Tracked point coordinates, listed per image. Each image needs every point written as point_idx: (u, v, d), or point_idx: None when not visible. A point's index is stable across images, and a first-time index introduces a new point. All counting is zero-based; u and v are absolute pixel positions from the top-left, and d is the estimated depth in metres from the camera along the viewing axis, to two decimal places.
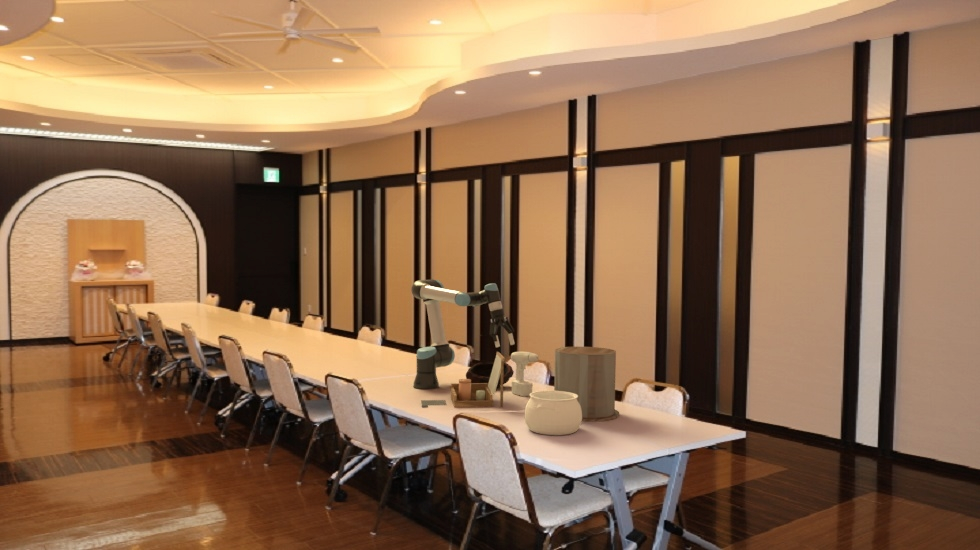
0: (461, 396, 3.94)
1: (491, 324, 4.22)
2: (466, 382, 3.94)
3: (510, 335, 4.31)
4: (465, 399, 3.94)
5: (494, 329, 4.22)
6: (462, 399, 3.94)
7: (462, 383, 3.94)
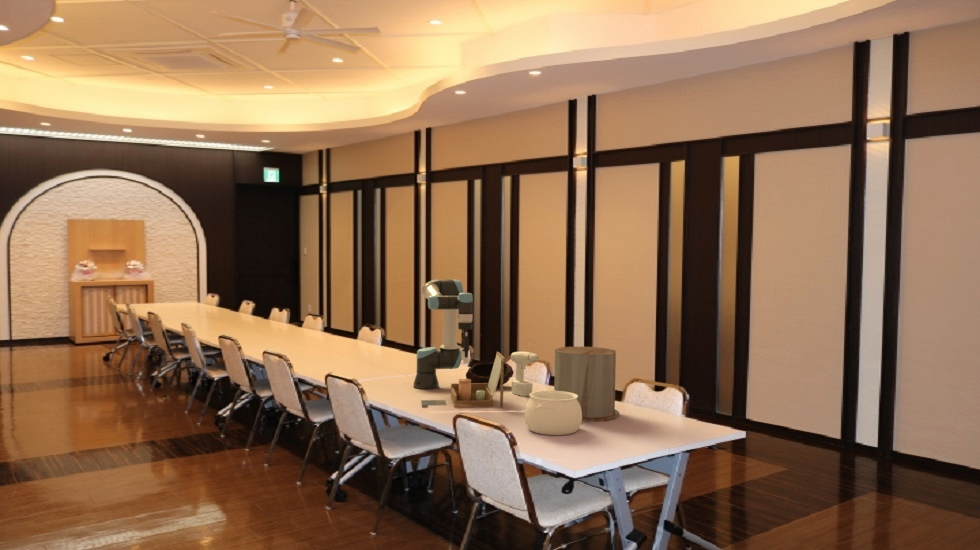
0: (461, 396, 3.94)
1: None
2: (466, 382, 3.94)
3: None
4: (465, 399, 3.94)
5: None
6: (462, 399, 3.94)
7: (462, 383, 3.94)
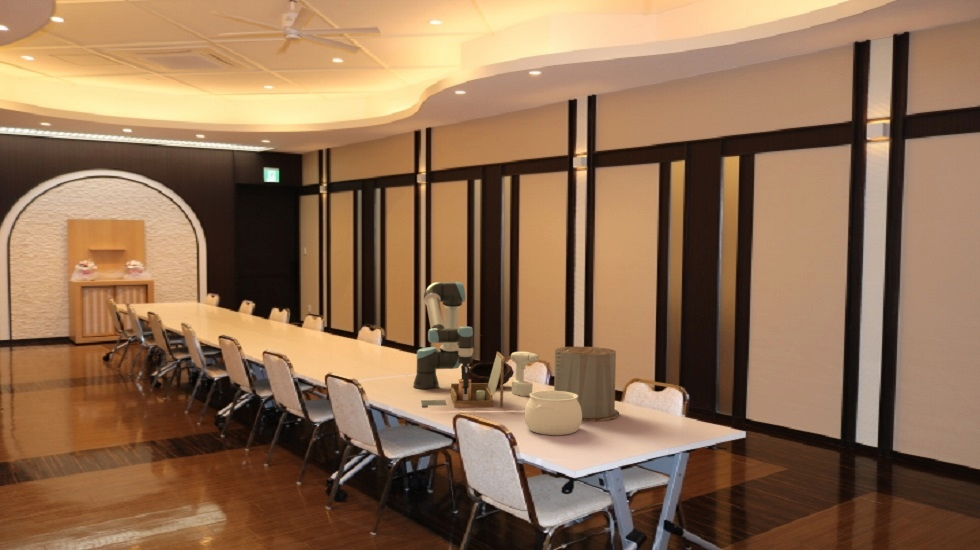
0: (461, 396, 3.94)
1: None
2: None
3: None
4: None
5: None
6: (462, 399, 3.94)
7: (462, 383, 3.94)
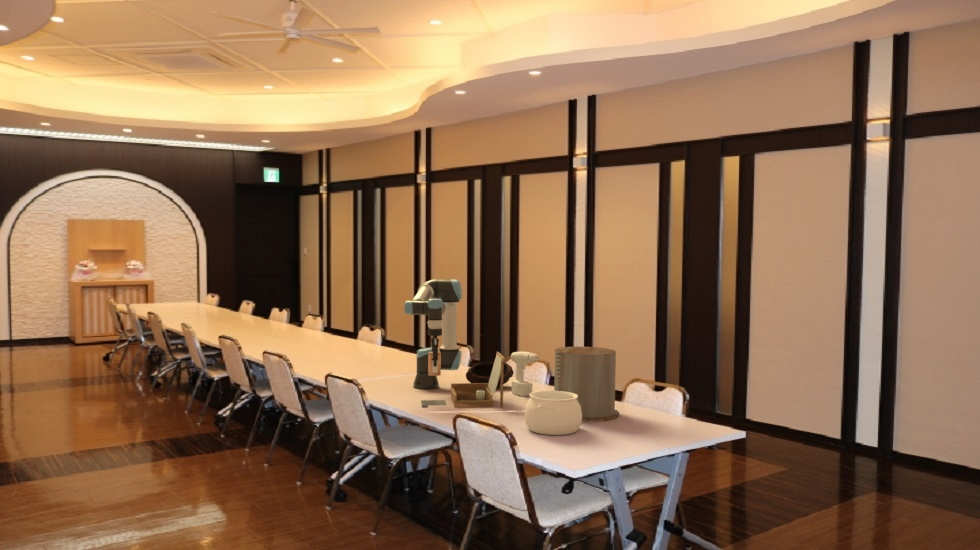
0: (431, 368, 3.92)
1: None
2: None
3: None
4: None
5: None
6: None
7: (431, 355, 3.91)
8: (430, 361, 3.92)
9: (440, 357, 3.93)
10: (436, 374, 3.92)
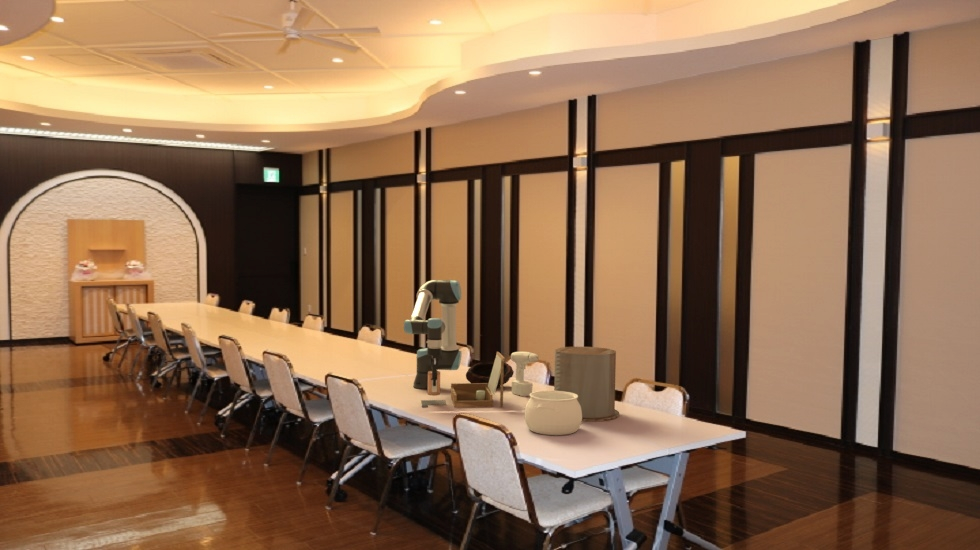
0: (430, 388, 3.92)
1: None
2: None
3: None
4: None
5: None
6: (431, 391, 3.92)
7: (430, 375, 3.92)
8: (429, 381, 3.92)
9: (439, 377, 3.94)
10: (435, 394, 3.92)
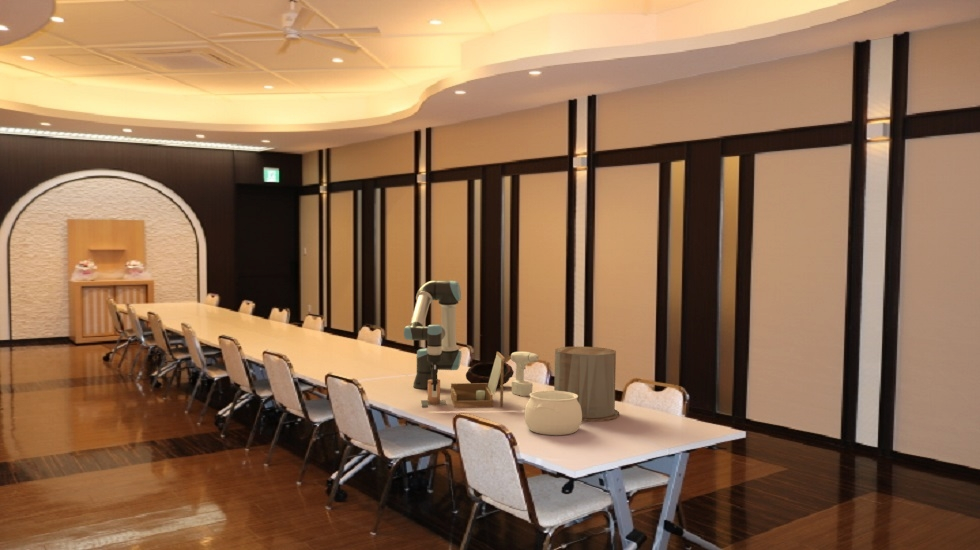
0: (430, 396, 3.92)
1: None
2: None
3: None
4: (434, 399, 3.92)
5: None
6: (431, 399, 3.92)
7: (430, 383, 3.92)
8: (429, 389, 3.92)
9: (439, 385, 3.94)
10: (435, 402, 3.92)
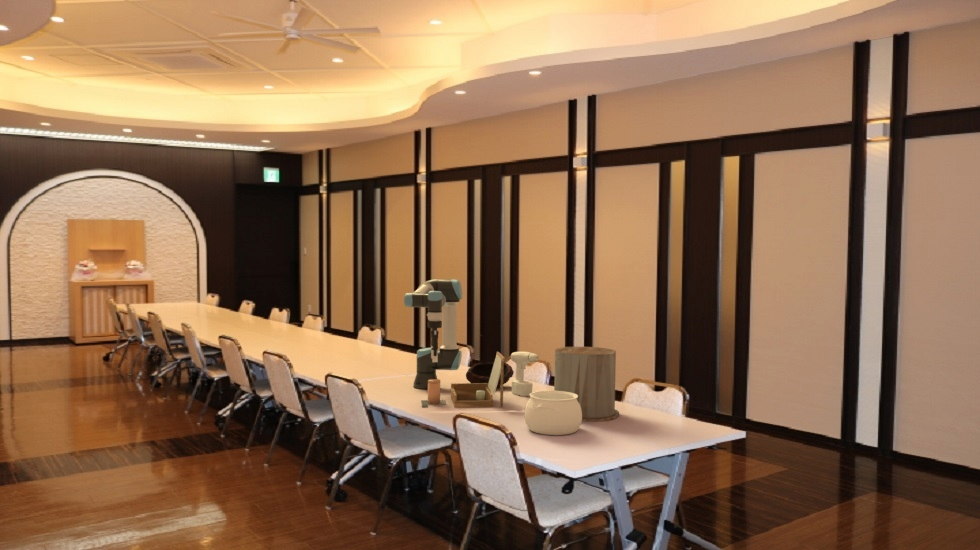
0: (430, 396, 3.92)
1: None
2: (435, 382, 3.91)
3: None
4: (434, 399, 3.92)
5: None
6: (431, 399, 3.92)
7: (431, 383, 3.92)
8: (429, 389, 3.92)
9: (439, 385, 3.94)
10: (435, 402, 3.92)
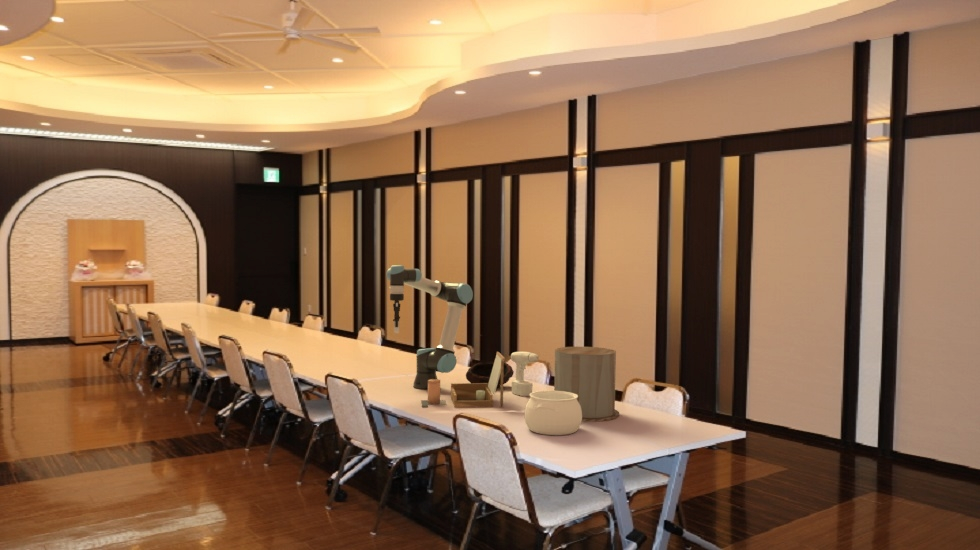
0: (430, 396, 3.92)
1: None
2: (435, 382, 3.92)
3: None
4: (434, 399, 3.92)
5: None
6: (431, 399, 3.92)
7: (430, 383, 3.92)
8: (429, 389, 3.92)
9: (439, 385, 3.94)
10: (435, 402, 3.92)
